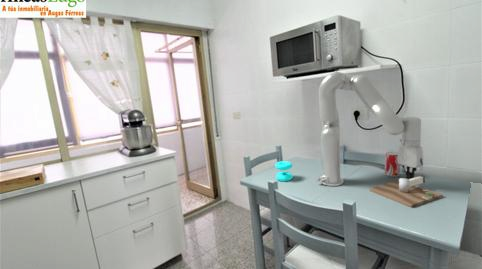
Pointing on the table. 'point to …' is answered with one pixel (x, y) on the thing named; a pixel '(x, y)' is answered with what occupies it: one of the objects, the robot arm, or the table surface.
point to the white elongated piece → (410, 183)
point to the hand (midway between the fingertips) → (409, 178)
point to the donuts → (284, 175)
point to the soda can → (391, 164)
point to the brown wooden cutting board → (406, 194)
